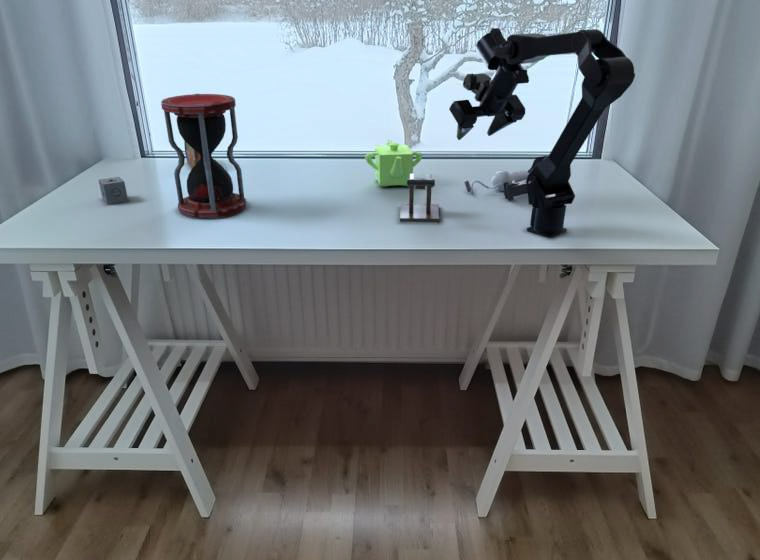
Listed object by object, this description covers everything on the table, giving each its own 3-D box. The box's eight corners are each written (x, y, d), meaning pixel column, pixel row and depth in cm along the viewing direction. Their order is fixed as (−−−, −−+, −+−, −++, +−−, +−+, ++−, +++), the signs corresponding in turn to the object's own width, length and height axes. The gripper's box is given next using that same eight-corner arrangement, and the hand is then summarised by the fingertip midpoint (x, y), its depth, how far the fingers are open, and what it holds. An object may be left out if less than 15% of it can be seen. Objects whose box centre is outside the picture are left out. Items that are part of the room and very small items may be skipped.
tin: (185, 161, 198) (181, 132, 194) (196, 160, 199) (192, 131, 195) (195, 173, 186) (191, 143, 182) (206, 172, 188) (202, 141, 183)
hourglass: (178, 221, 151) (160, 107, 138) (178, 201, 164) (161, 94, 152) (249, 215, 155) (237, 103, 142) (243, 196, 168) (232, 92, 155)
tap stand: (439, 223, 150) (441, 183, 145) (399, 223, 151) (400, 182, 146) (438, 208, 160) (439, 170, 155) (401, 208, 160) (401, 169, 155)
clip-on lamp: (466, 210, 168) (537, 198, 164) (462, 186, 164) (535, 173, 160) (467, 192, 177) (534, 180, 173) (463, 169, 174) (532, 157, 170)
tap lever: (434, 188, 142) (435, 176, 141) (406, 188, 142) (407, 176, 142) (433, 189, 153) (433, 179, 152) (407, 189, 153) (407, 178, 152)
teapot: (399, 195, 169) (399, 152, 164) (357, 186, 176) (356, 145, 170) (429, 181, 180) (430, 141, 175) (388, 173, 186) (388, 135, 181)
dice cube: (107, 204, 162) (103, 184, 159) (102, 199, 165) (98, 179, 163) (128, 201, 164) (124, 181, 162) (122, 196, 168) (118, 176, 165)
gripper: (517, 57, 153) (488, 108, 166) (452, 62, 145) (427, 115, 158) (540, 92, 150) (509, 141, 163) (475, 99, 142) (447, 150, 155)
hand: (473, 136), depth 160 cm, fingers open, 9 cm apart
